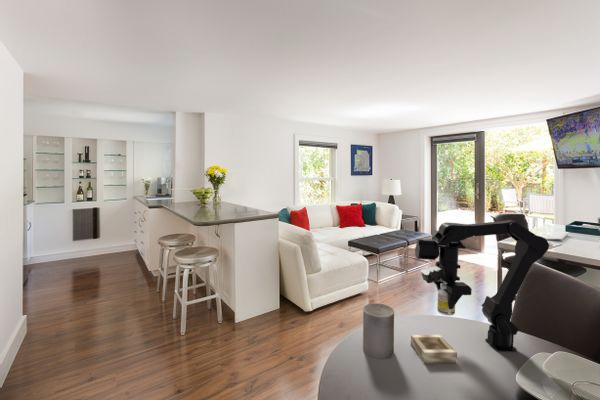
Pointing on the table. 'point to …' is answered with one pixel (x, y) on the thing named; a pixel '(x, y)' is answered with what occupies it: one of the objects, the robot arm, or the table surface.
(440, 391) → the table surface
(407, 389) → the table surface
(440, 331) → the table surface
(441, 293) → the supplement bottle
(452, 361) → the square holder
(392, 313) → the pillar candle
